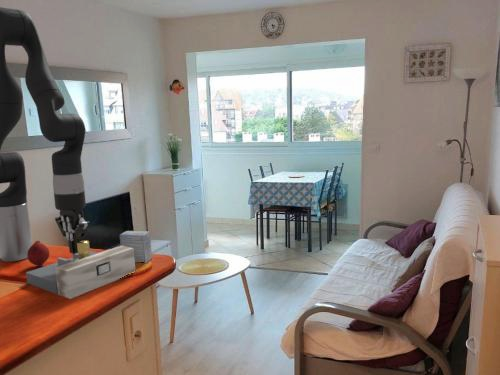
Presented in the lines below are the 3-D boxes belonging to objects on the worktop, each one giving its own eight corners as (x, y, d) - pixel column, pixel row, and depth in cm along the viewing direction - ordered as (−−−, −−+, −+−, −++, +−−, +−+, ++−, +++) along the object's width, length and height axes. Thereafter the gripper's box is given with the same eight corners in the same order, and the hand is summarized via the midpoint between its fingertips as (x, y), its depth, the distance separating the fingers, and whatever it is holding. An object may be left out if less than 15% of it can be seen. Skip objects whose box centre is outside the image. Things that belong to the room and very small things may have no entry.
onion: (41, 270, 121) (38, 243, 120) (24, 269, 122) (20, 243, 121) (54, 263, 127) (51, 237, 126) (38, 262, 128) (34, 237, 127)
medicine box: (152, 258, 128) (150, 231, 127) (146, 263, 124) (143, 235, 122) (128, 257, 130) (126, 230, 128) (121, 262, 125) (119, 234, 124)
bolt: (73, 267, 113) (71, 242, 112) (83, 263, 116) (81, 239, 114) (99, 274, 107) (96, 248, 106) (109, 270, 109) (106, 244, 108)
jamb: (58, 294, 104) (54, 267, 102) (123, 269, 120) (121, 245, 119) (69, 299, 101) (66, 271, 100) (135, 272, 117) (133, 248, 116)
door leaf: (27, 283, 112) (24, 264, 111) (92, 260, 128) (91, 244, 127) (57, 294, 104) (54, 274, 103) (122, 268, 120) (121, 251, 119)
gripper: (41, 190, 112) (48, 252, 115) (70, 195, 105) (76, 261, 108) (67, 185, 118) (73, 245, 121) (96, 190, 111) (101, 253, 114)
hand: (75, 252), depth 115 cm, fingers closed
